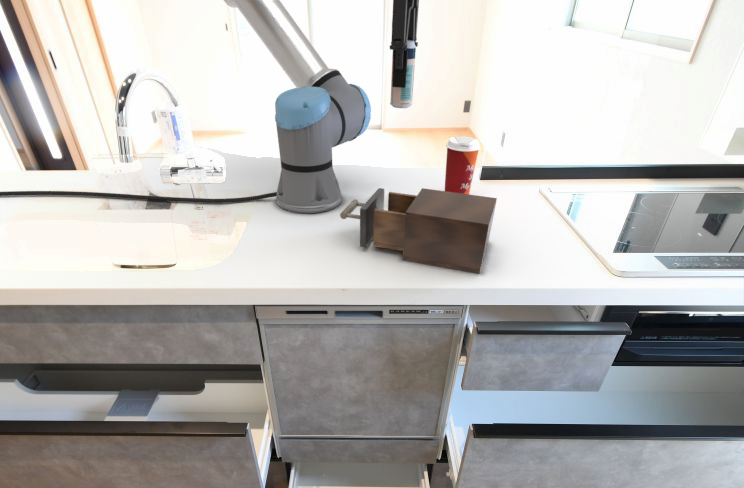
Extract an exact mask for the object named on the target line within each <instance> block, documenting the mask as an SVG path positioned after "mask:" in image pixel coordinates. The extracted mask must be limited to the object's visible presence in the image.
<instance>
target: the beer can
mask: <svg viewBox="0 0 744 488" xmlns="http://www.w3.org/2000/svg"><path fill="white" fill-rule="evenodd" d="M406 50H408V58H407V75H406V87H405V88H400V87H392V80H393V58H394V50H392V55H391V57H392V59H391V80H390V103H389V105H390V106H392V108H394V109H395V108H396V109H408V108H410V107H412V105H413V94H414V93H413V91H414V78H415V64H416V53H417V52H416V51H417V47H416V46H415V43H414V41H413V40H407V49H406Z"/></svg>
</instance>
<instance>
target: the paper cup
mask: <svg viewBox="0 0 744 488" xmlns="http://www.w3.org/2000/svg"><path fill="white" fill-rule="evenodd" d="M445 146H446V161H445V162H446V163H445V178H444V179H445V180H444V191H447V192H454V193H462V194H469V195H470V191H471V188H472V187H471V186H472V182H473V177H474V173H475V168H476V164H477V159H478V155H479V151H480V150H481V145H480V141H479V139H478V138H475V137H472V136H471V137H470V136H463V135H461V136H458V135H457V136H452V137H450V138H448V141H447V143H446V145H445Z"/></svg>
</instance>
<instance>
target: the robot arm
mask: <svg viewBox="0 0 744 488" xmlns="http://www.w3.org/2000/svg"><path fill="white" fill-rule="evenodd" d="M223 1H224V3H225V4H226V5H227V6H228V7H230V8H233V9H234V8H235V9H236V8H237V9H238V11H239V12H240V14H241V15H242V16H243V17H244V19H245V20H246V21H247V23H248V24H249V25H250V27H251V28H252V30H253V31H254V32H255V33H256V35H257V36H258V37H259V39H260V41H261V42H262V43H263V45H264V46H265V47H266V49H267V50H268V51H269V53H270V54H271V55H272V57H273V58H274V60H275V61H276V62H277V64H278V65H279V66H280V68H282V70H283V72H284V73H285V74H286V76H287V77H288V78H289V79H290V82H291V83H292V84H293V85H294V86H295V87H294V88H290V89H287V90H285V91H283V92H281V93H280V94H278V96H277V97H276V99H275V102H274V107H275V108H274V109H275V114H274V119H275V121H274V122H275V125H276V133H277V142H278V150H279V151H278V152H279V159H280V168H281V169H280V175H279V178H278V179H279V180H278V185H277V188H276V191H275V192H269V193H263V194H259V195H251V196H243V197H229V198H227V197H226V198H203V197H202V198H201V197H200V198H199V197H177V196H160V195H159V196H158V195H144V194H128V193H114V192H96V191H94V192H93V191H74V190H73V191H72V190H71V191H67V190H18V191H17V190H15V191H13V190H12V191H11V190H10V191H0V197H8V196H9V197H10V196H13V197H14V196H15V197H16V196H72V197H73V196H74V197H75V196H76V197H98V198H113V199H114V198H115V199H133V200H145V201H158V202H159V201H160V202H176V203H177V202H178V203H179V202H181V203H202V204H228V203H229V204H231V203H241V202H242V203H243V202H252V201H260V200H263V199H269V198H275V197H276V202H277V205H278V206H279V208H281V209H283V210H285V211H288V212H292V213H296V214H297V213H298V214H316V213H323V212H327V211H330V210H333V209H335V208H337V207H338V206H339V205H340V204H341V203H342V191H341V188H340V185H339V181H338V178H337V176H336V174H335V171H334V168H333V148H335V147H337V146H340V145H343V144H345V143H348V142H352V141H354V140H356V139H357V138H358V137H359V136H361V135H363V134H364V133H365V131H366V130H367V129H368V127H369V124H370V123H371V118H372V117H371V116H372V115H371V112H372V106H371V102H370V98H369V97H368V95H367V92H366V91H365V90H364V88H362V87H360V86H359V85H356V84H353V83H348V82H347V80H346V78H345V77H344V76H343V74H342V73H341V72H340V70H338V69H337V68H329V67H328V65H327V64H326V62H325V61H324V60H323V59H322V57H321V56H320V54H319V53H318V52H317V50H316V49H315V47H314V46H313V45H312V43H311V42H310V40H309V39H308V38H307V36H306V35H305V33H304V32H303V31H302V29H301V28H300V26H299V25H298V24H297V22H296V21H295V19H294V18H293V17H292V15H291V14H290V13H289V11H288V9H287V8H286V7H285V6H284V4H283V3H282V1H281V0H223ZM419 5H420V0H392V18H391V19H392V21H391V22H392V23H391V41H390V45H389V50H391V51H393V50H394V58H393V80H392V87H400V88H405V87H406V75H407V58H408V50H406V49H407V40H413V41H414V43H415V46H416V48H417V47H418V46H419V42H418V41H417V40H418V37H417V35H418V22H419V21H418V19H419V8H420V7H419Z"/></svg>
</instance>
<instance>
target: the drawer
mask: <svg viewBox="0 0 744 488" xmlns="http://www.w3.org/2000/svg"><path fill="white" fill-rule="evenodd" d="M387 195H388V196H387V199H388V200H387V210H386V209H385V188H382V187H378V188H377V189H376V190H375V192H374V193H373V194H372V195H371V196H370V197H369V198H367V200H366V202H359V201H358V199H353V200H352V201H351V202H350V203H349V204H348V205H347V206H346V207H345V208H344V209H343V210H342V211H341V213H340V214H339V216H340V219H341V220H346V219H348V218H350V219H355V220H359V247H360V248H364V249H367V247H368V245H369V244H370V243H371V241H372V240H373V241H372V243H373V245H372V246H373V247H377V248H382V249H389V250H393V251H400V252H403V245H404V230H405V215H406V211H407V210H408V208H409V207H410V205H411V204H412V202H413V201H414V199H415V198H416V197H417V195H418V194H417V195H416V194H409V193H402V192H394V191H388V194H387ZM357 207H360V208H359V214H353V212H354V211H355V210H356V209H357Z"/></svg>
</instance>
